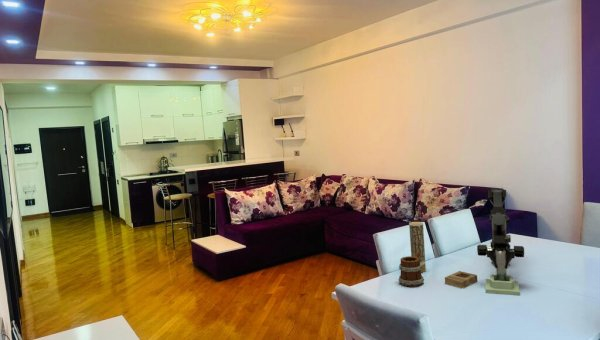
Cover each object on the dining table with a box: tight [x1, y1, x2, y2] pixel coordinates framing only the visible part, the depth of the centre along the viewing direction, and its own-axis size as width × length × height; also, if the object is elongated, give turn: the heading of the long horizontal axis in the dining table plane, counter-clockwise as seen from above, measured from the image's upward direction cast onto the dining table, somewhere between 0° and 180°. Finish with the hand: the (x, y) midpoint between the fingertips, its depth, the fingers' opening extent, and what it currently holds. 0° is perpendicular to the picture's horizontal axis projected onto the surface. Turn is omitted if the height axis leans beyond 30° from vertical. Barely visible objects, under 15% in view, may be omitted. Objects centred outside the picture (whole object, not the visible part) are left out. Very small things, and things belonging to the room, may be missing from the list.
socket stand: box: [485, 273, 521, 296], centre depth 179 cm, size 13×13×4 cm
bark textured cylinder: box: [408, 221, 427, 274], centre depth 209 cm, size 7×7×25 cm
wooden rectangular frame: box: [444, 270, 478, 289], centre depth 190 cm, size 12×9×3 cm
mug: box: [398, 252, 425, 288], centre depth 195 cm, size 12×14×15 cm
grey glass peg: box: [495, 249, 508, 281], centre depth 179 cm, size 4×4×14 cm
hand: (501, 268), depth 178 cm, fingers closed on grey glass peg, 4 cm apart
